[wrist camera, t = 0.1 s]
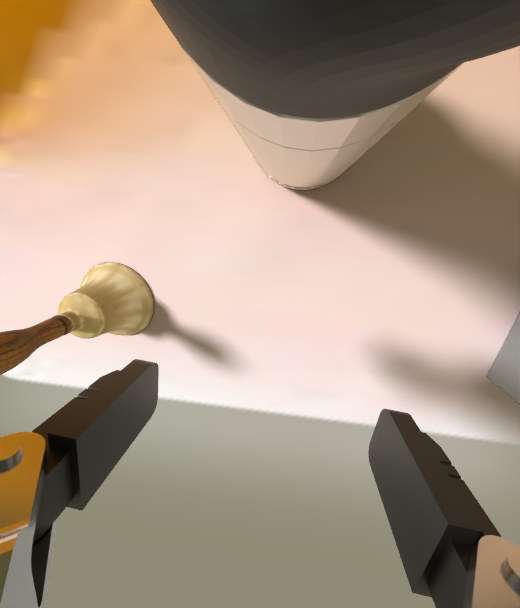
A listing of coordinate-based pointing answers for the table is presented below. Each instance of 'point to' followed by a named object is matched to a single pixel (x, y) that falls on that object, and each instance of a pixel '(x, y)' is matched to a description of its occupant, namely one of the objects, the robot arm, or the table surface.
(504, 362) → the gray board
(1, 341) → the hand bell
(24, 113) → the table surface
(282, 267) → the table surface
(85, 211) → the table surface
